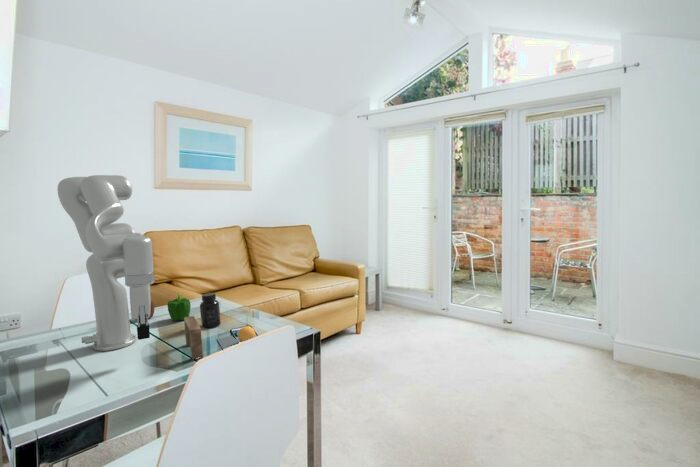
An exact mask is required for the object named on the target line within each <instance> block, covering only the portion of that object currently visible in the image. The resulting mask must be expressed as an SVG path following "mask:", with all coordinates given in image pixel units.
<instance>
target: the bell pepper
mask: <svg viewBox="0 0 700 467" xmlns="http://www.w3.org/2000/svg"><path fill="white" fill-rule="evenodd" d="M182 295H183V293H179V294H178V295H177V298H175V299H173V300H169V301H168V302H167V311H168V315H169V317H170V319H171V321H173V322H179V321H184V317H190V314H191V301H190V299H189V298H188V299H187V298H186V297H182ZM181 297H182V298H181Z"/></svg>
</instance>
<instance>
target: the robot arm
mask: <svg viewBox="0 0 700 467" xmlns="http://www.w3.org/2000/svg"><path fill="white" fill-rule="evenodd" d="M132 194H133V187H132V183H131V182H130V180H129V179H128V178H127V177H125V176H124V175H120V174H119V175H117V174H116V175H112V174H111V175H108V174H107V175H105V174H102V175H101V174H99V175H98V174H97V175H96V174H94V175H90V176H72V177H71V176H70V177H67V178H64V179H62V180H60V181H59V182H58V184H57V197H58V199H59V203H60V204H61V206H62V208H63V209H64V211H65V212H66V213H67V215H68V216H69V217H70V219H71V220H72V221H73V223H74V226H75V228H76V231H77V233H78V236H79V238H80V241H81V243H82V246H83V247H84V249H85V251H86V252H89V253H92V254H91V255H89V256H88V257H87V259H86V262H85V265H86V266H85V267H86V271H87V274H88V278H89V281H90V285H91V292H92V296H93V297H92V299H93V308H94V315H95V316H94V317H95V324H96V333H95V334H92V335H91V336H90V335H89V336H82V337H81V343H82V344H85V345H89V344H92V349H93V350H95V351H98V352H102V351H103V352H104V351H113V350H114V351H115V350H119V349H121V348H125V347H127V346H130V345H132V344H134V343H136V341H137V340H145V339H146V340H147V339H149V338H151V337H150V333H151V332H150V323H149V319H150V318H149V317H150V312H151V300H152V297H151V296H150V294H151V285H152V284H154V283H155V274H154V272H155V271H154V258H153V257H154V256H153V255H154V254H153V243H152V239H151V238H150V237H149V236H144V235H143V234H142V233H140V232H136V231H135V229H134V228H133V227H132V226H131V225H130V224H128V223H125V222H120V223H119V222H117V221H118V220H120V219H121V217H122V216H123V215H124V211H125V210H124V206H123V204H122V203H121V201H127V200H129V199H130V198H131V197H132ZM115 222H117V223H115ZM121 278H124V285H123V284H122V283H121V282H119V281H118V279H121ZM125 286H126V287H128V288H129V300H128V293H127V290H126V288H125ZM129 303H130V304H129ZM129 305H130V309H129ZM129 310H130V311H129ZM129 312H130V313H129ZM130 318H131V319H130ZM148 318H149V319H148ZM130 320H132V321H135V320H136V321H137V325H136V334H137V335H135V334H133V333H132V332H131V322H130Z"/></svg>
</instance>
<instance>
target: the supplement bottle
mask: <svg viewBox="0 0 700 467" xmlns="http://www.w3.org/2000/svg"><path fill="white" fill-rule="evenodd" d="M201 301H202V302H200V304H199V310H200V311H199V312H200V322H201V327H202V328H203V329H212V328H216V327H219V326H220V325H221V310H220V302H219V301H218V300H217V296H216V293H215V292H208V293H204V294H202V295H201Z"/></svg>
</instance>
